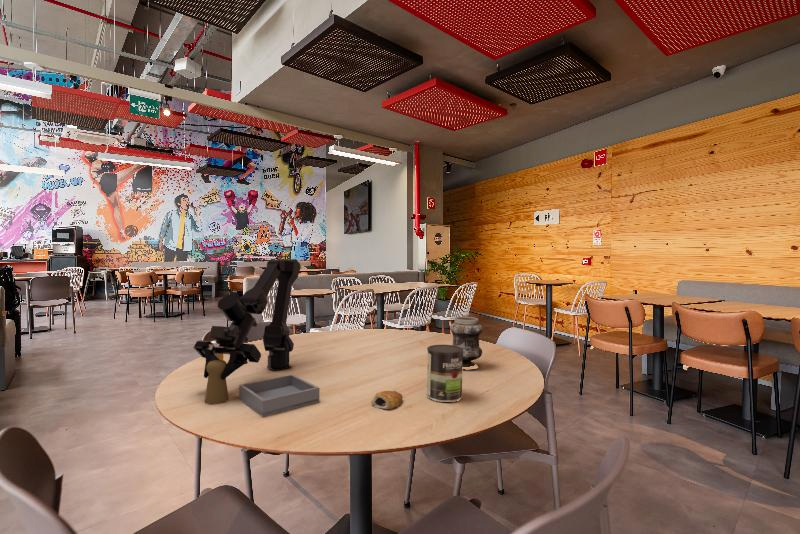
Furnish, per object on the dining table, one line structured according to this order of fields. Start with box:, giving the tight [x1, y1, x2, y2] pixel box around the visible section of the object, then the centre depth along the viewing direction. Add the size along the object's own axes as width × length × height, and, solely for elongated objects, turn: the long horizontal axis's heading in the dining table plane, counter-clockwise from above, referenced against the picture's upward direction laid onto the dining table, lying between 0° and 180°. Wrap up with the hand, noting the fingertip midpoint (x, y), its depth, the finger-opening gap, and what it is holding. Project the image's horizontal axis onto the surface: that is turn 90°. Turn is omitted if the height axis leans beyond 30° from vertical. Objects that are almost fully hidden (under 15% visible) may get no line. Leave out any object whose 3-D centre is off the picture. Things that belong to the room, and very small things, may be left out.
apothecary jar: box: [449, 316, 484, 367], centre depth 148 cm, size 12×12×18 cm
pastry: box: [370, 390, 403, 411], centre depth 111 cm, size 9×7×4 cm
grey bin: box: [238, 373, 320, 418], centre depth 112 cm, size 16×16×4 cm
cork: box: [204, 359, 230, 405], centre depth 112 cm, size 6×6×11 cm
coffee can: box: [426, 344, 463, 403], centre depth 117 cm, size 10×10×14 cm
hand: (213, 378), depth 110 cm, fingers closed on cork, 5 cm apart
